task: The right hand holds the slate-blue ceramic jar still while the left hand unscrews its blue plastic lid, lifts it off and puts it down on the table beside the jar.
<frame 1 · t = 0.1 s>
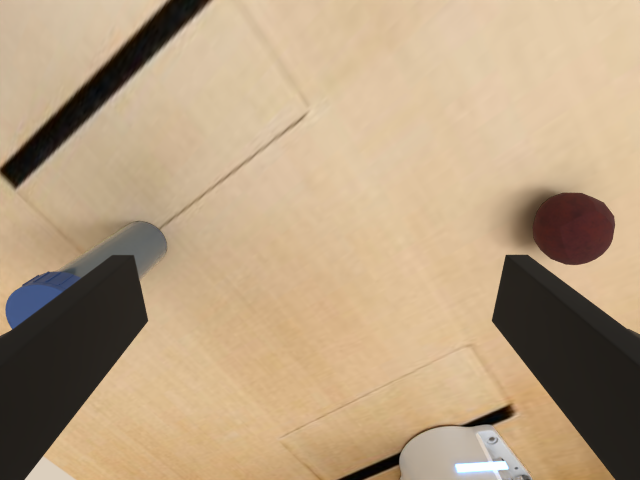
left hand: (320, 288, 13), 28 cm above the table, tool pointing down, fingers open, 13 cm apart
lid: (51, 318, 28), point 16 cm above the table, screwed on, not yet turned
jar: (143, 243, 42), on the table
dark red plum: (550, 217, 41), on the table
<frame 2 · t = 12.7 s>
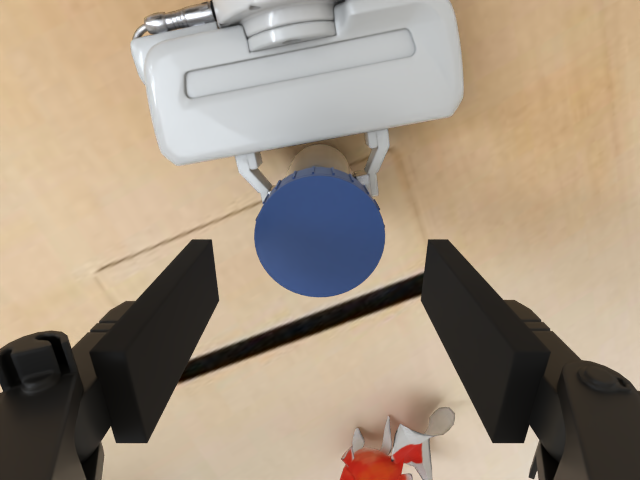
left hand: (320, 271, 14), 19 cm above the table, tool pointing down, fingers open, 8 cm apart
right hand: (322, 203, 26), fingers closed on jar, 5 cm apart
fish: (389, 423, 43), on the table
lid: (319, 238, 17), point 16 cm above the table, screwed on, not yet turned
jar: (319, 175, 32), on the table, touching right hand
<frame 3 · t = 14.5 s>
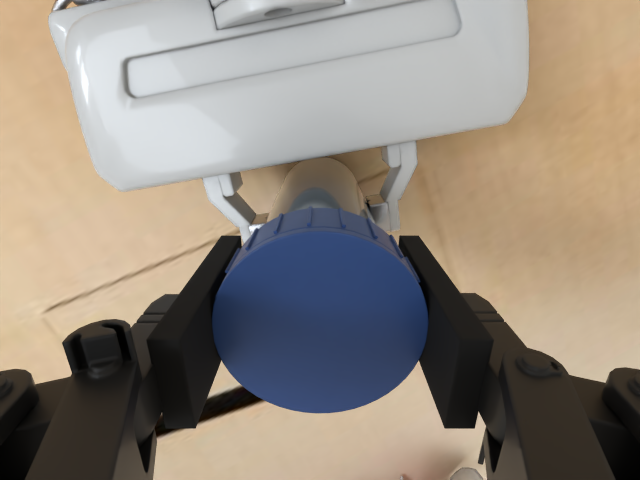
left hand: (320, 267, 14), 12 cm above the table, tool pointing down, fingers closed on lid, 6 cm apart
right hand: (323, 239, 20), fingers closed on jar, 5 cm apart
lid: (320, 325, 11), point 16 cm above the table, screwed on, not yet turned, touching left hand
jar: (320, 195, 25), on the table, touching right hand
when the left hand's fingers open (12 cm above the table, at t = 15.8 s): lid stays where it is, point 16 cm above the table.
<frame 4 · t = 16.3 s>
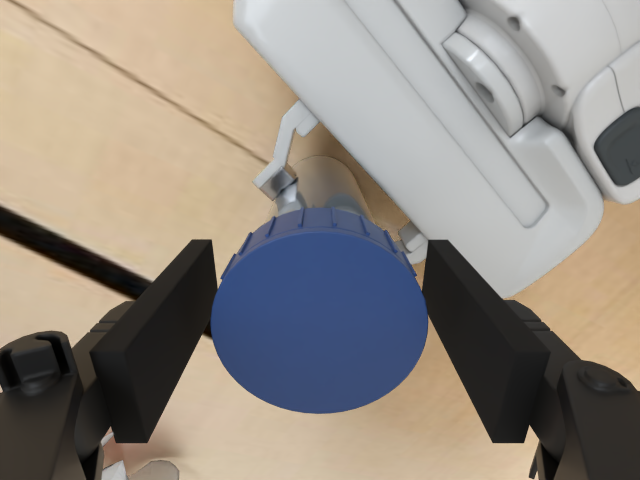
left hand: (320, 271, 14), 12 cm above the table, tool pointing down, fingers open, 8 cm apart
right hand: (308, 233, 20), fingers closed on jar, 5 cm apart
fish: (109, 435, 34), on the table
lid: (319, 326, 11), point 16 cm above the table, turned 94° so far, risen 0.3 cm, still on its thread
jar: (319, 194, 25), on the table, touching right hand
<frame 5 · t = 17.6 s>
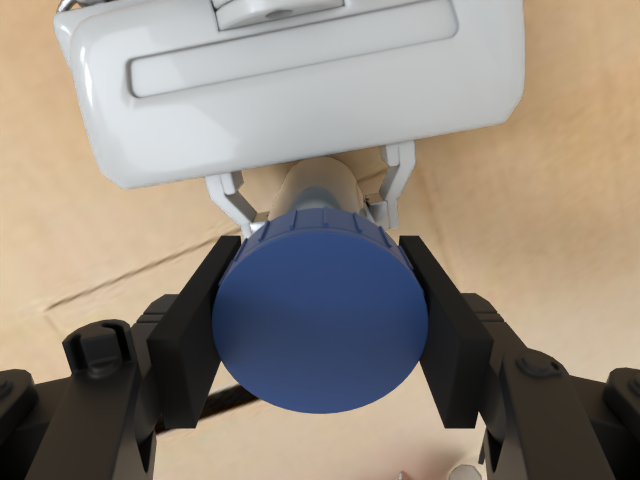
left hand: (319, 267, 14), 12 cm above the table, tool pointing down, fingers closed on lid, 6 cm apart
right hand: (323, 237, 20), fingers closed on jar, 5 cm apart
lid: (320, 326, 11), point 16 cm above the table, turned 94° so far, risen 0.3 cm, still on its thread, touching left hand
jar: (320, 194, 25), on the table, touching right hand
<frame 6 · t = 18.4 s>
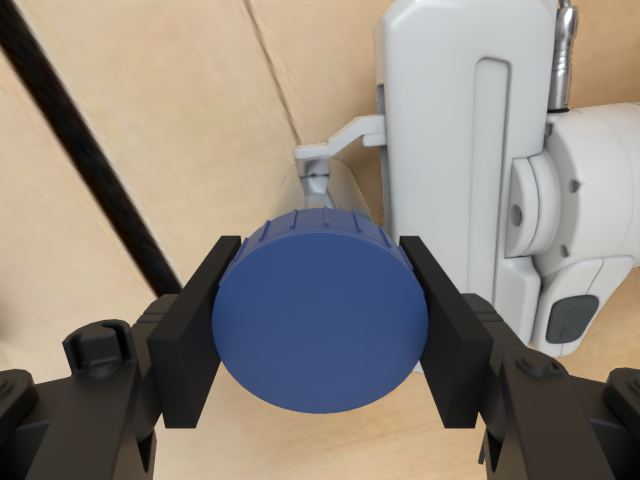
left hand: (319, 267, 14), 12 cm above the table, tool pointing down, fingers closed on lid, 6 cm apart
right hand: (304, 223, 20), fingers closed on jar, 5 cm apart
lid: (320, 326, 11), point 16 cm above the table, off its thread, touching left hand
jar: (320, 193, 26), on the table, touching right hand
when the left hand's fingers open (0 cm above the table, at t = 23.7 s): lid drops 2 cm, point 2 cm above the table.
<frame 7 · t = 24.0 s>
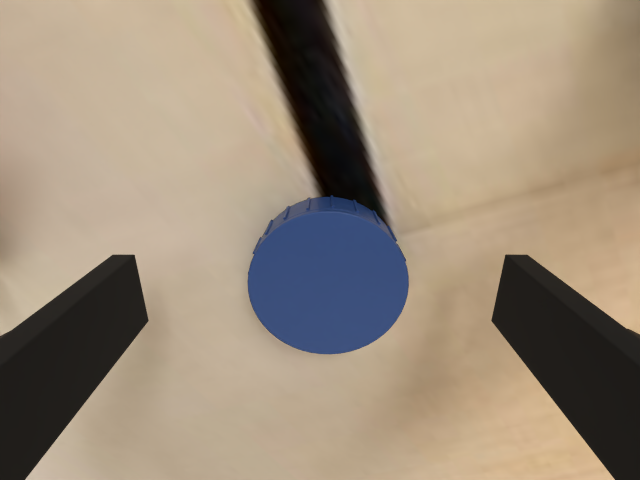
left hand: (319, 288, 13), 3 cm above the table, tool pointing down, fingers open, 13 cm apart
lid: (327, 284, 14), point 2 cm above the table, off its thread
when the right hand's fingers open (6 cm above the table, at t = 24.4 s): jar stays where it is, on the table.
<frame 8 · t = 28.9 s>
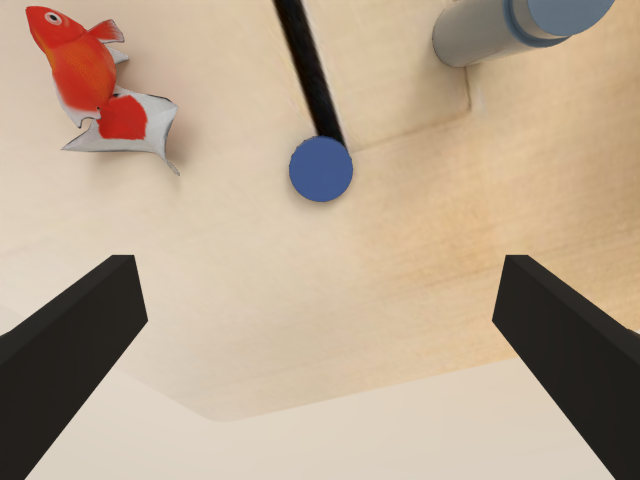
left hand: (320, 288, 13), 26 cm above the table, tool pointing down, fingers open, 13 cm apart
fish: (139, 102, 35), on the table
lid: (321, 170, 36), point 2 cm above the table, off its thread
jar: (462, 34, 33), on the table
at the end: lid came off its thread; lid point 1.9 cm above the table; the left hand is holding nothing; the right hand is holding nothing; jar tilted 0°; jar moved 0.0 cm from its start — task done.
